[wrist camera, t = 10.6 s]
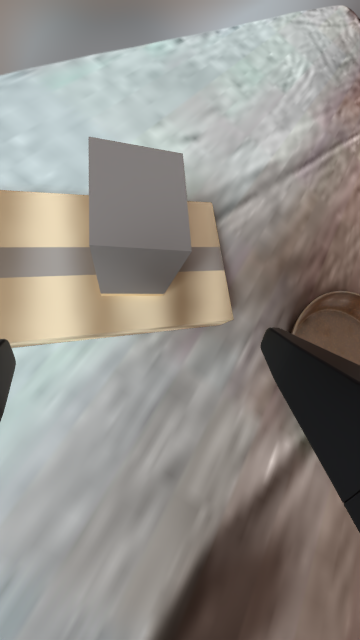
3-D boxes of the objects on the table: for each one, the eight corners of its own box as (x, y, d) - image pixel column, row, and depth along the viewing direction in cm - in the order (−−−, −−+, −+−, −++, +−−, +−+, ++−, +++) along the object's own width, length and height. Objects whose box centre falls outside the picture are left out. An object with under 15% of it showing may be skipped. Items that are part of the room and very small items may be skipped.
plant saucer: (260, 297, 26) (278, 289, 23) (372, 297, 31) (399, 290, 28) (285, 466, 23) (310, 481, 20) (405, 436, 28) (439, 444, 25)
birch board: (201, 220, 25) (211, 202, 23) (219, 325, 24) (233, 319, 21) (-38, 212, 19) (-65, 186, 16) (-40, 353, 17) (-71, 351, 14)
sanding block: (162, 296, 19) (191, 251, 12) (101, 295, 18) (89, 245, 10) (158, 232, 20) (182, 153, 13) (100, 227, 19) (88, 136, 11)
